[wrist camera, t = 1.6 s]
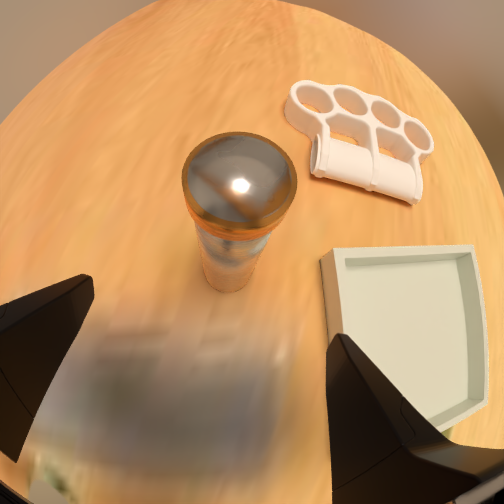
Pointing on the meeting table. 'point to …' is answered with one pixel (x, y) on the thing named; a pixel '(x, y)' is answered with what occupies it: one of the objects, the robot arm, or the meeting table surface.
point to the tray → (415, 322)
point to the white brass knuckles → (360, 139)
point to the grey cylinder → (236, 202)
